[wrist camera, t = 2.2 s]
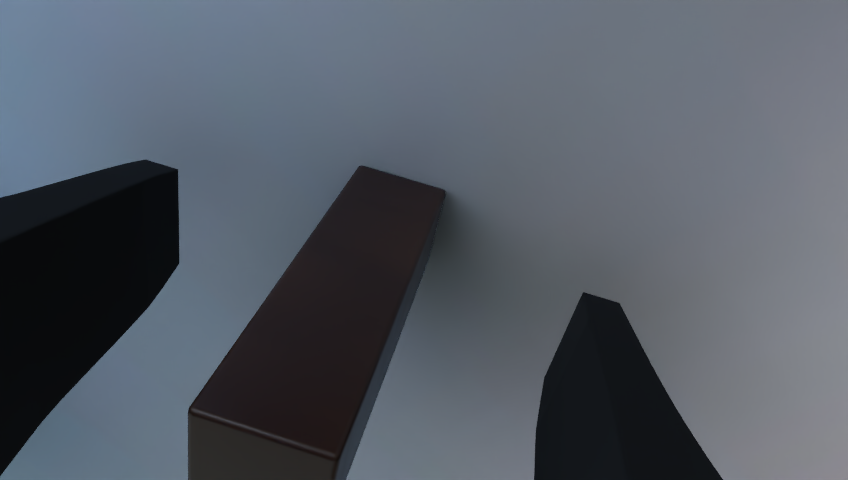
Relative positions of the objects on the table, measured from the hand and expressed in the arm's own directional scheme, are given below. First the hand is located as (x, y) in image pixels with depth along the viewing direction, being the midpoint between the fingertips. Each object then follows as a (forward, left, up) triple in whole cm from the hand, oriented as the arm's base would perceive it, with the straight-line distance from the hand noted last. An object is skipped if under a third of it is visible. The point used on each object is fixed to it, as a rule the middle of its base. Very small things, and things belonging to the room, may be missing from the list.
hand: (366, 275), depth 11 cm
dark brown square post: (0, 0, -2) cm, 2 cm away
